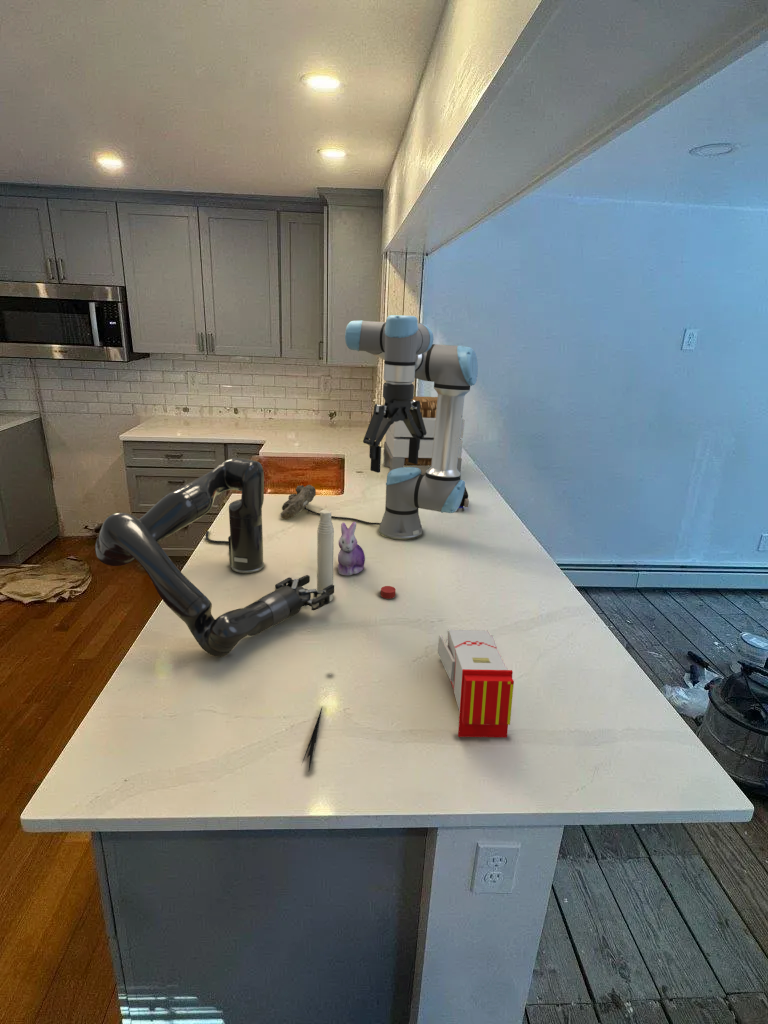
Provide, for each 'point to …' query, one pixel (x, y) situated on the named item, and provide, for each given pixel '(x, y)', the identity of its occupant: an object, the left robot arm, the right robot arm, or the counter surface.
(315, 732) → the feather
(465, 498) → the figurine character
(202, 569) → the counter surface
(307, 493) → the fossil
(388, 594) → the cap
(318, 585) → the bottle
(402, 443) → the white slatted crate
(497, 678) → the toy
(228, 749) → the counter surface
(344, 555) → the figurine
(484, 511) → the counter surface
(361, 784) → the counter surface
